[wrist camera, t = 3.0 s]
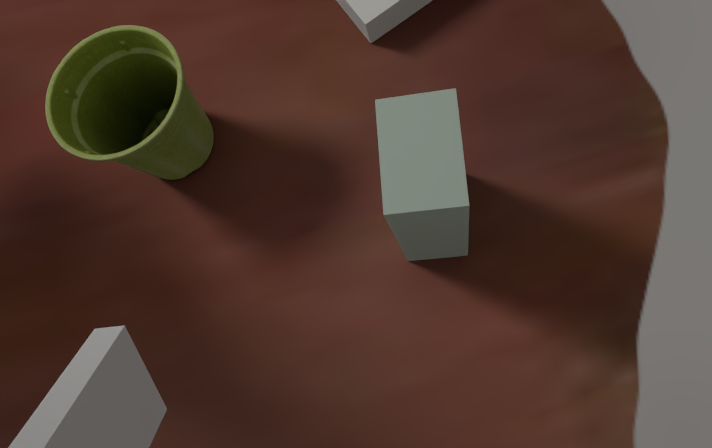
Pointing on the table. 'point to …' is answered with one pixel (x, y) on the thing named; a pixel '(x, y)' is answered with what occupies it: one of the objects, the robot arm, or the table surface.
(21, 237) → the table surface
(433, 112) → the key block
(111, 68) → the plant pot
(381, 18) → the socket plate
